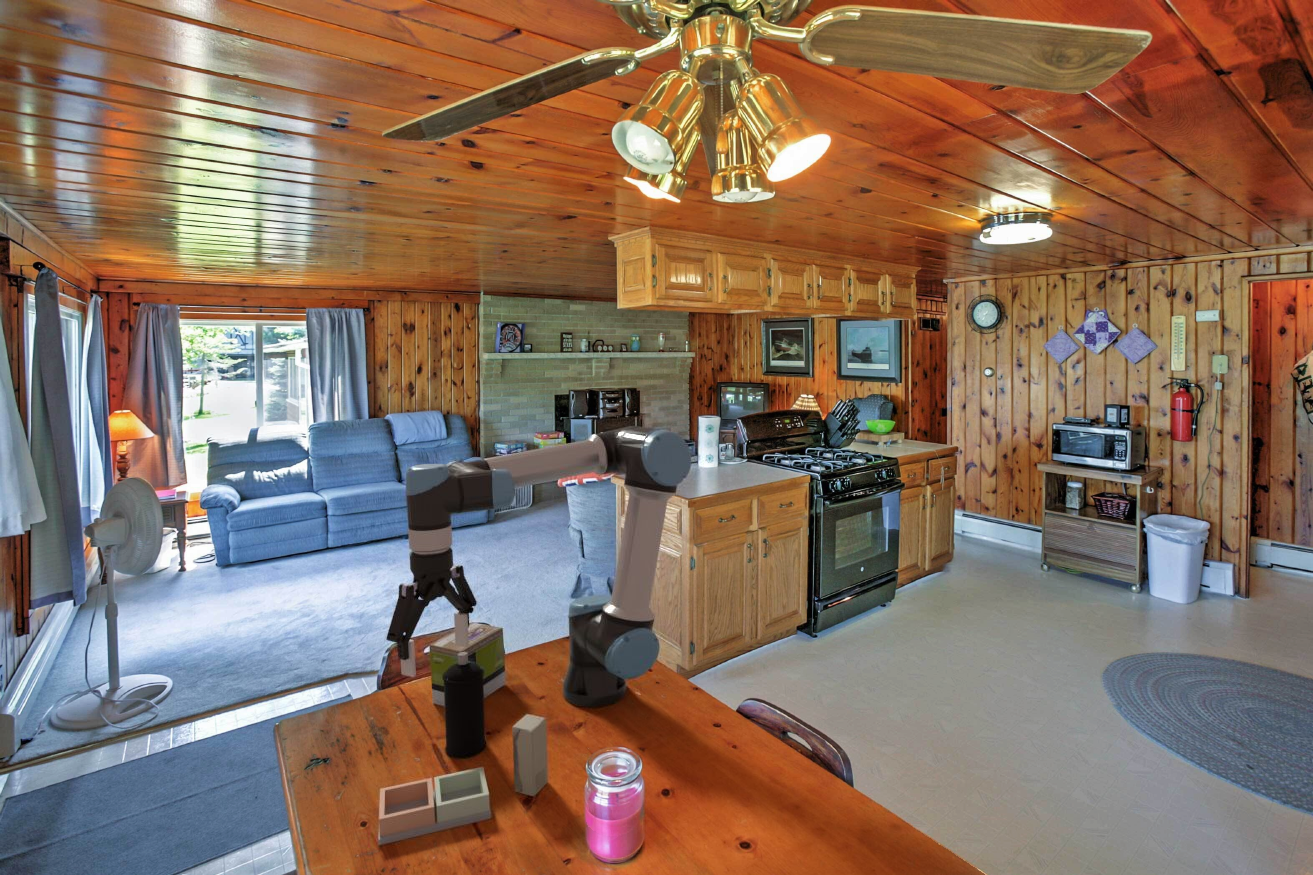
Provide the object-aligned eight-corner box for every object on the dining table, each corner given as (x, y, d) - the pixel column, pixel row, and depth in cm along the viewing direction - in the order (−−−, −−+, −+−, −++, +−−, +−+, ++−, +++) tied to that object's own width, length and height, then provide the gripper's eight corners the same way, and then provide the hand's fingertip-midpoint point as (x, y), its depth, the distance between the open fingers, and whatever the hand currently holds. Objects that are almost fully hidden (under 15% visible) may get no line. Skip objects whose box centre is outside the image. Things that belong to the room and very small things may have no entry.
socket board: (484, 784, 124) (483, 764, 124) (491, 818, 115) (490, 796, 115) (380, 807, 118) (378, 786, 118) (378, 845, 109) (377, 822, 108)
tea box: (474, 677, 168) (472, 620, 167) (506, 685, 164) (505, 626, 162) (430, 704, 155) (428, 642, 153) (464, 713, 150) (461, 650, 149)
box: (529, 776, 127) (527, 712, 126) (549, 781, 125) (547, 716, 124) (513, 792, 122) (511, 726, 121) (533, 798, 120) (531, 731, 119)
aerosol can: (475, 761, 132) (472, 664, 130) (437, 756, 134) (433, 660, 131) (493, 738, 140) (490, 646, 138) (457, 734, 142) (454, 643, 139)
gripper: (462, 531, 135) (467, 631, 138) (359, 565, 113) (367, 684, 115) (492, 534, 132) (496, 638, 134) (391, 570, 110) (399, 693, 112)
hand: (436, 659), depth 125 cm, fingers open, 13 cm apart
